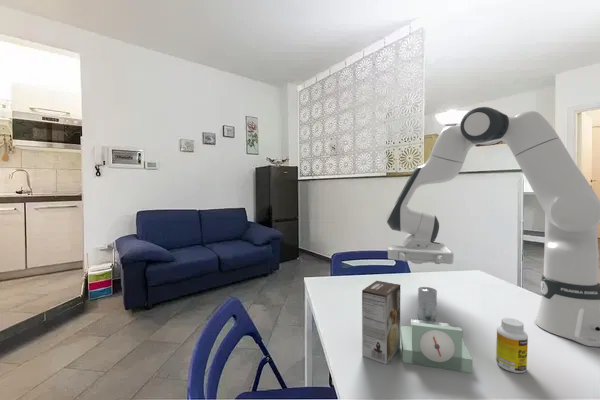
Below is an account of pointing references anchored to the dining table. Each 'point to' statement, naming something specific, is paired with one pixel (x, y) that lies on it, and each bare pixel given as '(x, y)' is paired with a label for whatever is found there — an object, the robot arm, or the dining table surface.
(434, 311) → the cylinder
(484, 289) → the dining table surface
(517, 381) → the dining table surface
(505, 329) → the supplement bottle
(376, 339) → the coffee box
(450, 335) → the scale
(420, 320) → the grey square slab
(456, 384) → the dining table surface
